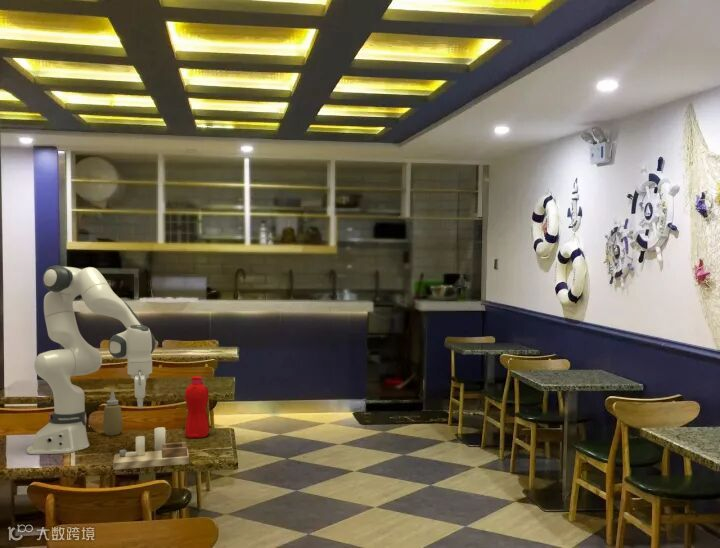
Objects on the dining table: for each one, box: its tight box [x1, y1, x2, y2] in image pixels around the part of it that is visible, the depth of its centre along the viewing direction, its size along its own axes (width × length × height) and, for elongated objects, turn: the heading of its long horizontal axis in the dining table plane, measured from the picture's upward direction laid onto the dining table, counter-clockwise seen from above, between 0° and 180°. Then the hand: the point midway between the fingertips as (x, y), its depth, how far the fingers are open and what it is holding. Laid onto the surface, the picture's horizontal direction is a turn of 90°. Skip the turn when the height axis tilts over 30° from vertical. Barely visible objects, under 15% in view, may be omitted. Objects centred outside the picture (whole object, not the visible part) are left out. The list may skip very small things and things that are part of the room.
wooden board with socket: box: [112, 441, 190, 471], centre depth 259 cm, size 26×12×5 cm, turn 106°
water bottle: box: [184, 375, 213, 439], centre depth 298 cm, size 9×11×25 cm
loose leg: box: [153, 426, 166, 451], centre depth 273 cm, size 4×4×9 cm
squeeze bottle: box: [102, 391, 124, 437], centre depth 301 cm, size 8×8×18 cm
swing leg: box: [119, 435, 146, 457], centre depth 259 cm, size 9×3×6 cm, turn 106°
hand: (140, 405), depth 266 cm, fingers open, 6 cm apart
